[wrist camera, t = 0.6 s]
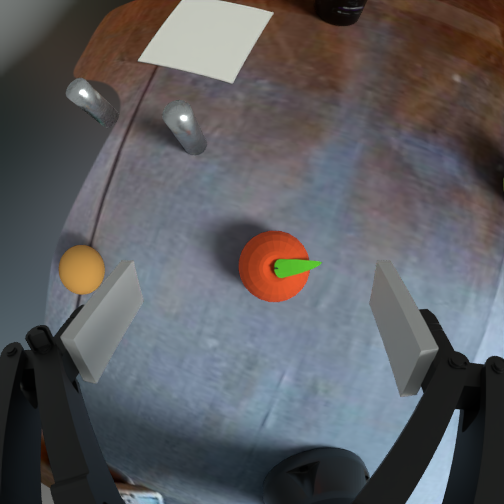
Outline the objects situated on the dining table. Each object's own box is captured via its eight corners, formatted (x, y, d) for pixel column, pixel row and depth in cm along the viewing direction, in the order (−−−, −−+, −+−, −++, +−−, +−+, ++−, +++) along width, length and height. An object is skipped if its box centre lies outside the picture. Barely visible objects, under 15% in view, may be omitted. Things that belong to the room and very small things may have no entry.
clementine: (310, 228, 33) (324, 223, 26) (316, 291, 33) (331, 302, 26) (237, 235, 33) (231, 232, 26) (244, 299, 34) (240, 312, 26)
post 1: (112, 129, 34) (77, 100, 25) (97, 124, 34) (62, 97, 25) (121, 111, 34) (90, 79, 24) (106, 107, 34) (73, 76, 25)
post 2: (201, 158, 33) (183, 129, 24) (180, 151, 33) (157, 121, 24) (210, 138, 33) (195, 104, 24) (190, 131, 33) (170, 97, 24)
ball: (104, 298, 34) (81, 306, 28) (70, 279, 34) (44, 283, 28) (118, 255, 34) (95, 257, 28) (83, 238, 34) (57, 236, 28)
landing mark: (232, 84, 33) (232, 83, 33) (138, 61, 33) (137, 60, 33) (273, 13, 33) (273, 12, 33) (185, -4, 33) (185, -5, 33)
